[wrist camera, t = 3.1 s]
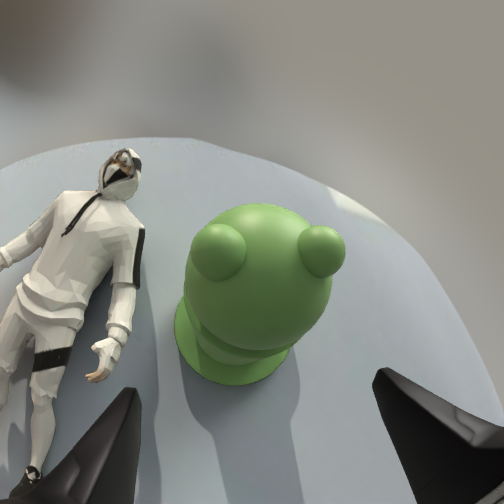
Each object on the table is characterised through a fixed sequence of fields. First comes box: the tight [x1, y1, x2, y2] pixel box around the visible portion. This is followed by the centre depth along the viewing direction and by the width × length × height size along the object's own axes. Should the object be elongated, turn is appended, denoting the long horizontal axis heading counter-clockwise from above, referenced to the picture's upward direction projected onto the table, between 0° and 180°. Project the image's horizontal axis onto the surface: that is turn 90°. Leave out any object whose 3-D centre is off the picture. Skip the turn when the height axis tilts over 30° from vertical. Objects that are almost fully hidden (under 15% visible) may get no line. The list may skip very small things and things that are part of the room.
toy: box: [174, 203, 345, 386], centre depth 14 cm, size 8×8×15 cm
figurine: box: [0, 148, 145, 498], centre depth 16 cm, size 13×6×30 cm
